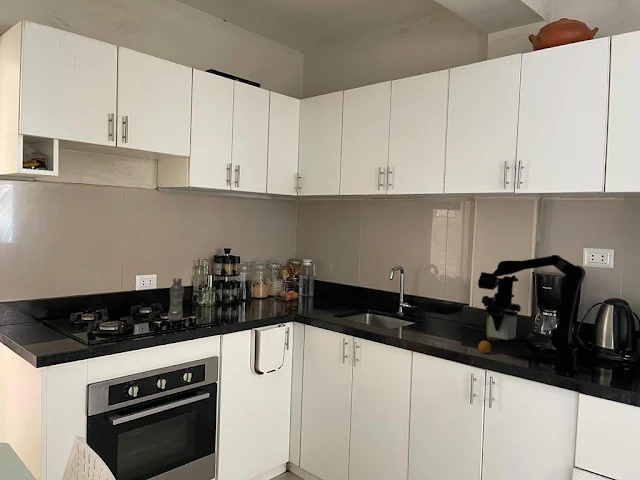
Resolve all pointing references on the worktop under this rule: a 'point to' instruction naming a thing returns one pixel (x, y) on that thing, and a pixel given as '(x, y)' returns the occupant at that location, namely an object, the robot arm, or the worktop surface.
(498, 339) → the sauce bottle
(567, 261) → the robot arm
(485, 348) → the ball
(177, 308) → the plastic bottle
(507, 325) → the sage green lidded box
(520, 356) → the worktop surface
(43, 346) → the worktop surface
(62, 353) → the worktop surface
